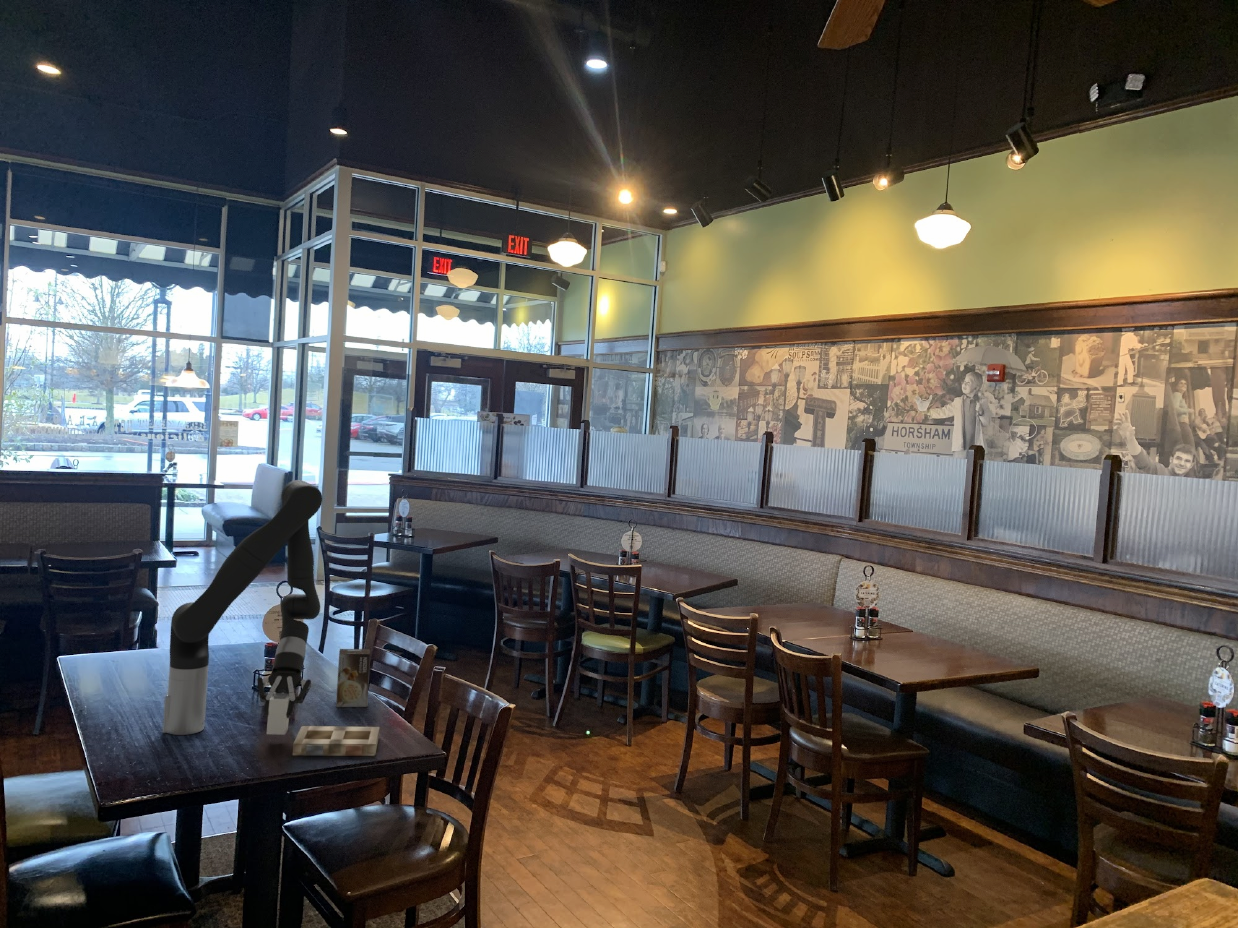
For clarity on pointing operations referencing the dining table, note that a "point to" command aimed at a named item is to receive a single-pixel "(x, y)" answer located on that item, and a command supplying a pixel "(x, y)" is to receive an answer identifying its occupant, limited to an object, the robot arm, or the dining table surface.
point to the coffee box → (353, 678)
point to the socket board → (336, 741)
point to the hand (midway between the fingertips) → (277, 715)
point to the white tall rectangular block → (278, 714)
